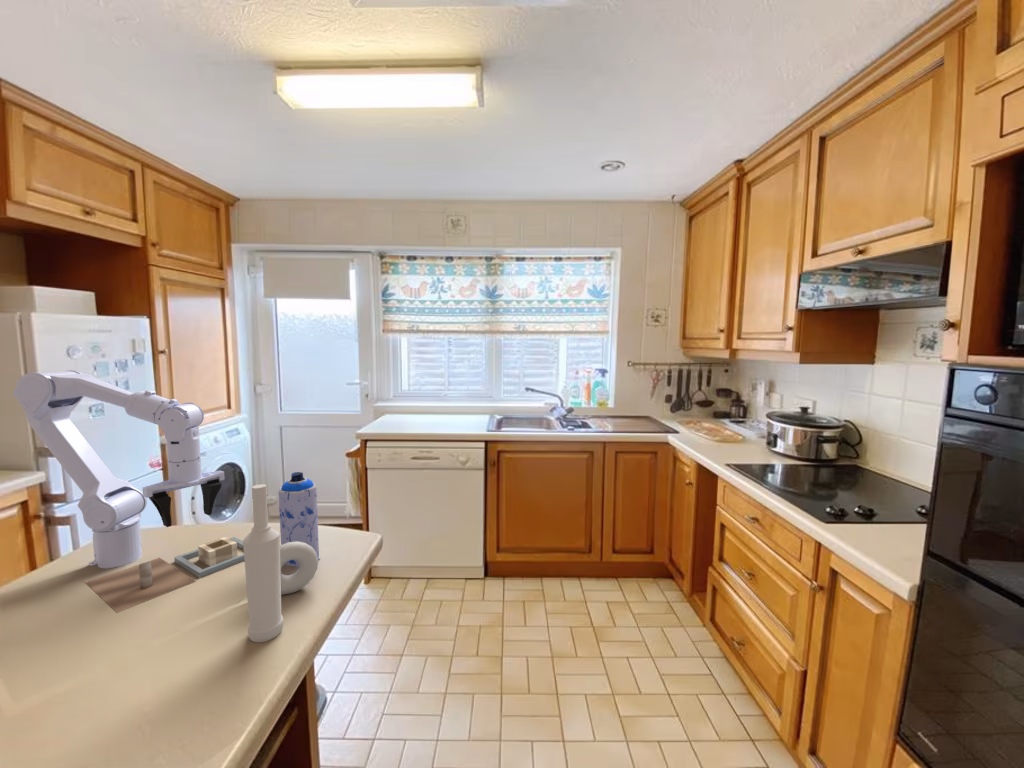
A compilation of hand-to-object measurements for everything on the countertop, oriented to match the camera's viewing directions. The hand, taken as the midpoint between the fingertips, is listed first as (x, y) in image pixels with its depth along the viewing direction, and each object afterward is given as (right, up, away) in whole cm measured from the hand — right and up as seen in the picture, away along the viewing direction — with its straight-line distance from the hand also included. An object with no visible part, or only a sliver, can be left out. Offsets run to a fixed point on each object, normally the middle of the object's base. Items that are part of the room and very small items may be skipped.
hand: (188, 519), depth 95 cm
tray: (+7, -9, 0) cm, 12 cm away
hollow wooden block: (+7, -9, 0) cm, 11 cm away
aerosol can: (+25, -10, 0) cm, 26 cm away
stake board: (-2, -10, -10) cm, 14 cm away
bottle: (+31, -12, -23) cm, 40 cm away
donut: (+29, -11, -12) cm, 33 cm away
